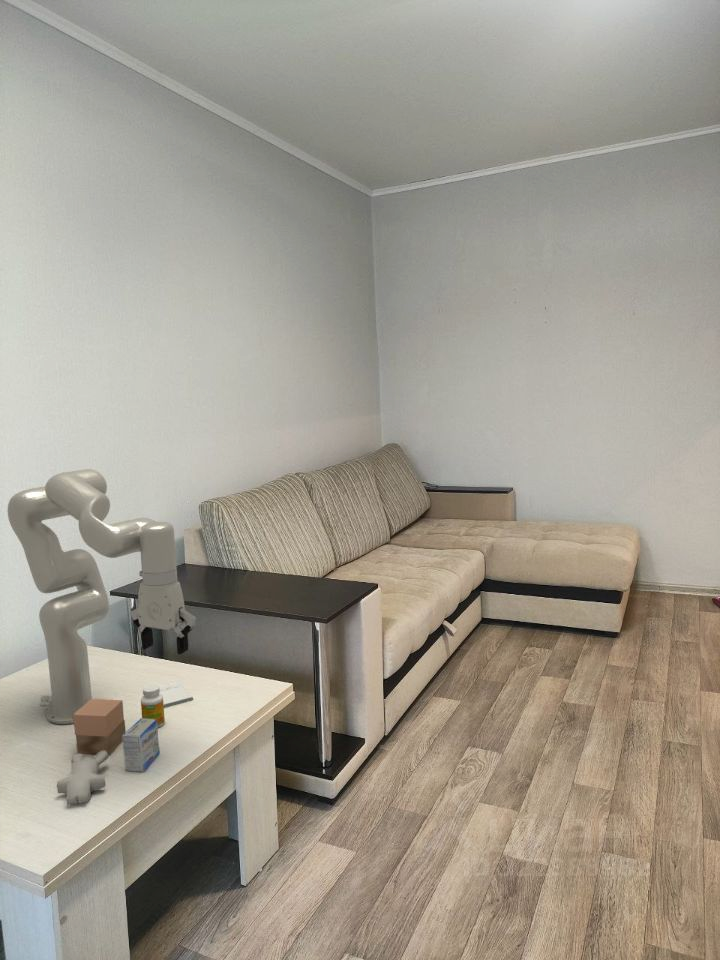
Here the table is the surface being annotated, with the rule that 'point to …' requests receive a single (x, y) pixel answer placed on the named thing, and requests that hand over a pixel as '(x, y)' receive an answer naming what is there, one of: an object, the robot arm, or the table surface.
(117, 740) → the tower bottom block
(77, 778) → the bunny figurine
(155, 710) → the supplement bottle
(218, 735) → the table surface
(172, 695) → the external hard drive
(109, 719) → the tower top block
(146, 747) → the medicine box
